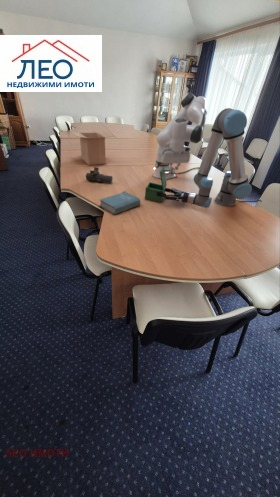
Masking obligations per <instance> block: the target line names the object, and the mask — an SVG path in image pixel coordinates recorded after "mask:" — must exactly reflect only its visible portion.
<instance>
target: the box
mask: <svg viewBox="0 0 280 497" xmlns="http://www.w3.org/2000/svg"><path fill="white" fill-rule="evenodd" d="M70 133H71V134H72V135H74V136H75V137H77V138H79V144H80V153H81V160H83V162H85V163H86V165H87V166H95V165H97V166H98V165H106V163H107V162H106V158H107V157H106V138H113V137H114V136H113V135H111V134H109V133H108V132H105V131H98V132H96V131H95V130H92V129H91V130H77V132H76V131H70Z"/></svg>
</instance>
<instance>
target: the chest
mask: <svg viewBox="0 0 280 497" xmlns="http://www.w3.org/2000/svg"><path fill="white" fill-rule="evenodd" d="M166 188H167V187H166ZM166 188H165V189H164V191H163V190H162V184H159V183H155V182H151V181H149V182H148V184H147V185H146V186H145V191H144V192H145V193H144V199H146V200H149V201H154V202H157V203H162V202H163V200H164V199H165V198H164V197H160V196H157V192H160V193H165V194H166V192H165V190H166Z"/></svg>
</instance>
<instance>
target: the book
mask: <svg viewBox="0 0 280 497" xmlns="http://www.w3.org/2000/svg"><path fill="white" fill-rule="evenodd" d="M99 201H100V205H99V207H101V208H103V209H104V210H105V211H107V212H109V213H111V214H113V215H116V214H119V213H122V212H124V211H128V210H130V209H132V208H133V209H134V208H135V207H138V206H140V205H141V198H139V197H137V196H135V195H133V194H131V193H128V192H126V191H122V192H119V193H116V194H113V195H110V196H106V197H104V198H100V199H99Z"/></svg>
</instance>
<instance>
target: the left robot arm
mask: <svg viewBox="0 0 280 497" xmlns="http://www.w3.org/2000/svg"><path fill="white" fill-rule="evenodd" d="M180 106H181V109H180V110H179V111H178V112H176V114H175V115H174V116H173V118H172V119H171V120H170V121H169V123H167V124H166V125H165V127H163V128H162V129H161V131H160V132H159V133H158V135H157V137H156V142H157V144H158V147H157V150H156V159H155V165H154V167H153V170H154V171H153V175H152V176H153V177H154V178H156V179H161V177H160V171H161V169H162V168H163V167H164V169H165V170H173V168H175V172H174V174H173V175H171V174H165V176H166V180H169V179H173V178H177V175H180V174H184V173H187V172H190V171H192V170H195V169H199V168H200V166H199V167H193V168H190V169H188V170H186V171H182V172H177V173H176V171H178V170H179V167H180V166H181V164H188V163H189V162H190V160H191V152H190V151H191V147H189V146H186V145H185V142H187V143H191V144H192V143H193V144H198V143H200V142H201V141H202V139H203V136H204V130H205V125H206V119H207V114H208V110H207V109H206V108H207V99H206V98H205V96H203V95H200V96H195V94H193V93H192V92H187V93H185V94H184V95H183V96H182V98H181V101H180ZM189 122H191V123H192V124H188V123H189ZM193 123H194V124H196V125H194V124H193ZM173 164H176V166H173ZM169 172H171V171H165V173H169Z"/></svg>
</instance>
